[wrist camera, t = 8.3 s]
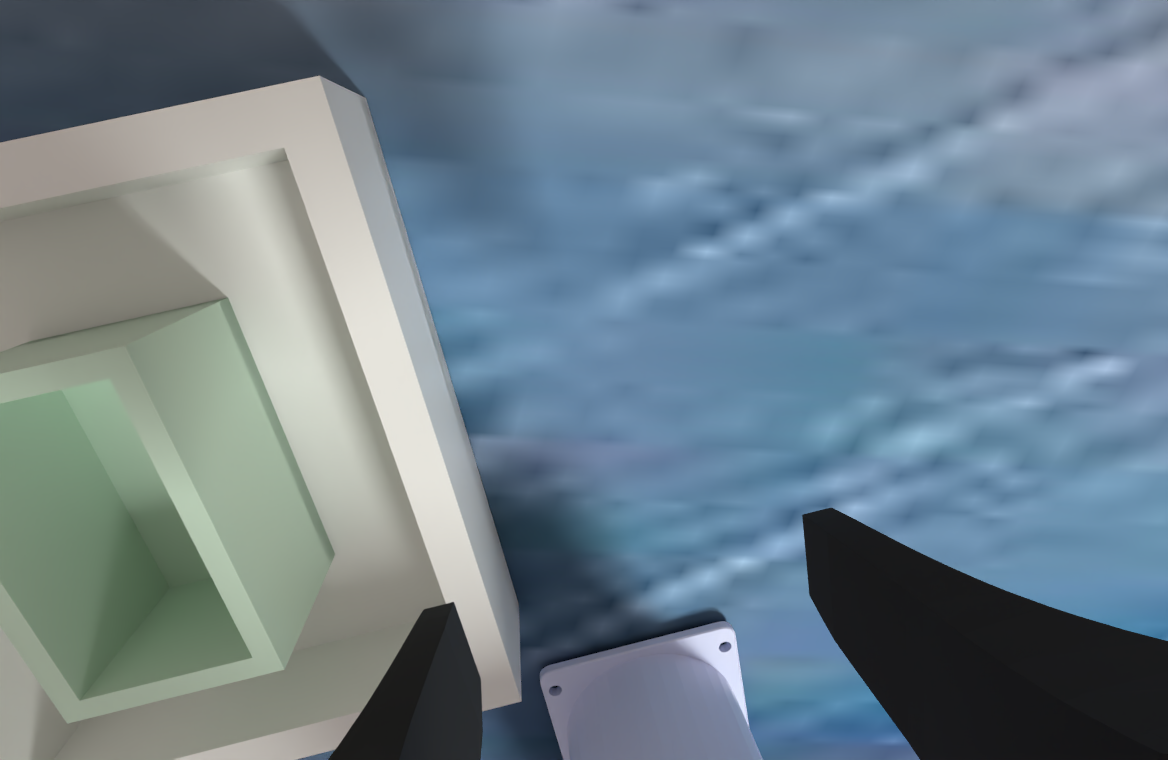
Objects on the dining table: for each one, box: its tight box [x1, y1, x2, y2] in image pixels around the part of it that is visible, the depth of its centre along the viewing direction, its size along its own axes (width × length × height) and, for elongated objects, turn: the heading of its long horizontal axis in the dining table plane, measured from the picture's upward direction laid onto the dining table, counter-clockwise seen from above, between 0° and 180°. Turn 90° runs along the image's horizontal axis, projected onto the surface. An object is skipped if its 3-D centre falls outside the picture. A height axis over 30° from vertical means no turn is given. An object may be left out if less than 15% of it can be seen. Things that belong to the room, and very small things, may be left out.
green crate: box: [0, 298, 335, 724], centre depth 16 cm, size 9×6×5 cm, turn 12°
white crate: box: [0, 76, 522, 760], centre depth 18 cm, size 18×16×4 cm
